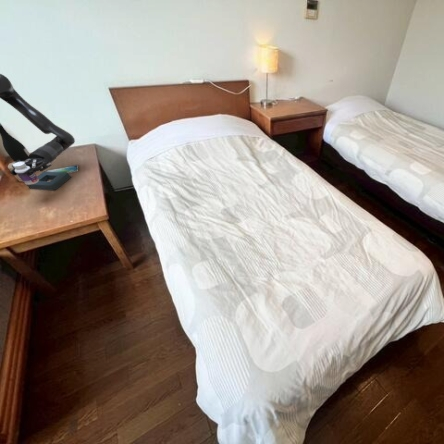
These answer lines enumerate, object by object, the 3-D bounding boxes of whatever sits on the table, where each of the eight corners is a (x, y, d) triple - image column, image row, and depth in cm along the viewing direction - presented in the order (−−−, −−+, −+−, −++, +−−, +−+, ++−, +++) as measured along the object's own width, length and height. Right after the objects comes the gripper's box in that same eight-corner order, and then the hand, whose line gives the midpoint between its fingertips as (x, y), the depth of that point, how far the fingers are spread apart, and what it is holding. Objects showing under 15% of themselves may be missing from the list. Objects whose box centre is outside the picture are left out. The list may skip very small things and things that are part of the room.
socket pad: (29, 188, 131) (25, 184, 129) (47, 175, 140) (44, 171, 138) (55, 190, 132) (51, 185, 130) (71, 177, 141) (68, 172, 139)
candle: (26, 175, 139) (13, 159, 132) (34, 177, 138) (22, 161, 131) (15, 180, 135) (2, 164, 128) (24, 182, 134) (11, 166, 127)
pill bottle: (37, 184, 117) (24, 166, 111) (23, 185, 115) (8, 167, 109) (40, 177, 121) (27, 160, 114) (26, 179, 119) (12, 161, 112)
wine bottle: (32, 162, 149) (-5, 111, 128) (41, 166, 147) (4, 114, 126) (16, 168, 143) (-25, 115, 123) (25, 172, 141) (-16, 119, 121)
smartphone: (46, 170, 143) (77, 165, 150) (46, 171, 144) (78, 166, 150) (44, 176, 139) (77, 170, 145) (45, 177, 139) (78, 171, 146)
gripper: (23, 148, 121) (-5, 166, 109) (55, 149, 123) (32, 167, 110) (33, 161, 126) (7, 180, 114) (63, 162, 128) (42, 181, 116)
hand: (20, 173), depth 112 cm, fingers closed on pill bottle, 5 cm apart
